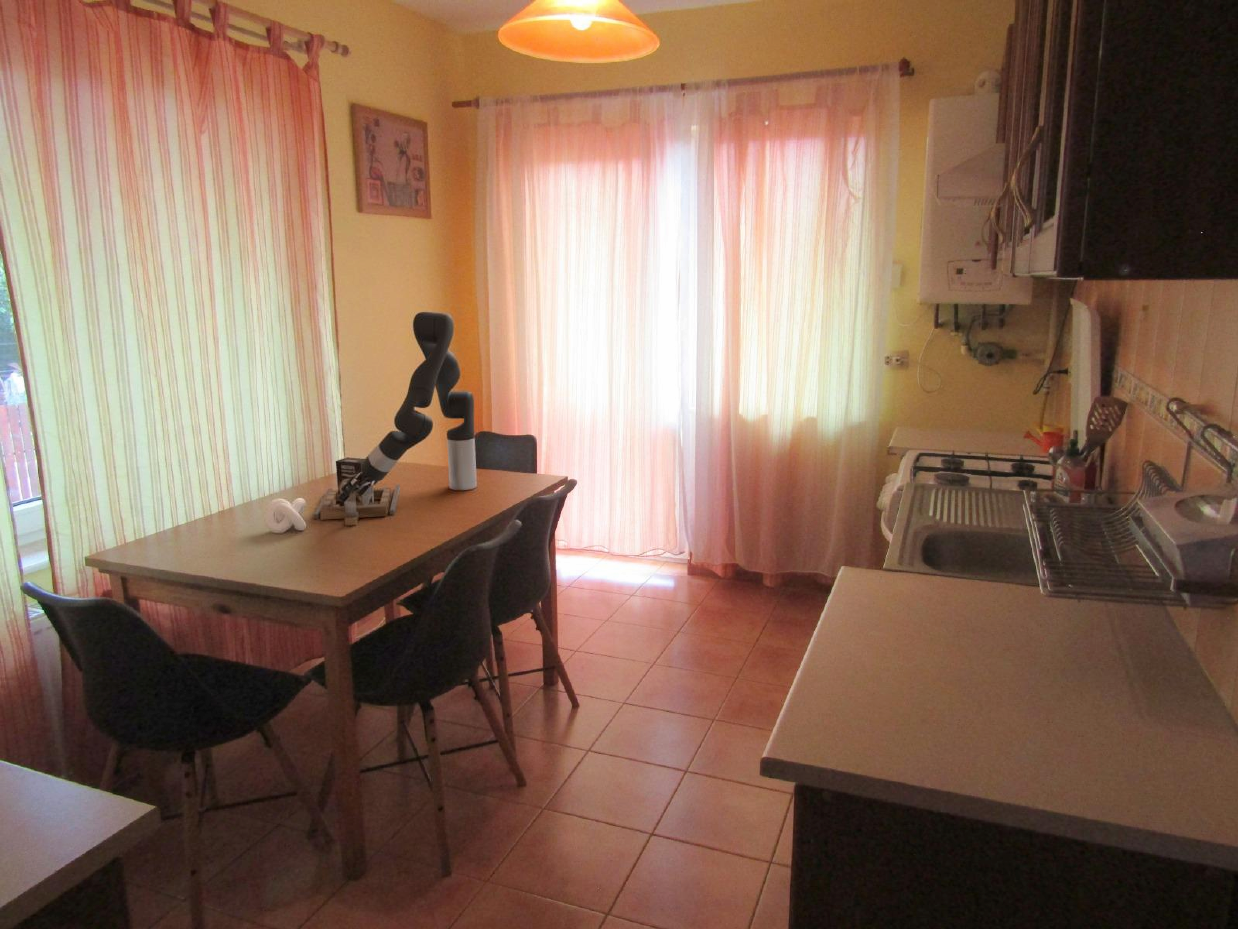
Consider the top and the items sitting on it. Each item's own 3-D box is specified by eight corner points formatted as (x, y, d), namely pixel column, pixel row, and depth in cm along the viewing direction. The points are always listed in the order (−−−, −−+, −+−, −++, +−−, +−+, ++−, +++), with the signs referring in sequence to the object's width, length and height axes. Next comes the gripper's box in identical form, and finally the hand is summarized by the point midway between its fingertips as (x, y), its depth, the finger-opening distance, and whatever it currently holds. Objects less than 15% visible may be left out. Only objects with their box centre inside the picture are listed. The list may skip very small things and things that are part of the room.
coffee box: (338, 511, 268) (334, 461, 264) (350, 506, 274) (346, 456, 270) (364, 513, 265) (360, 462, 262) (375, 508, 271) (372, 458, 268)
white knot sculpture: (262, 538, 242) (259, 507, 240) (267, 526, 253) (264, 496, 251) (305, 534, 245) (302, 504, 243) (308, 523, 256) (305, 493, 254)
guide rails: (328, 493, 290) (328, 488, 290) (399, 489, 295) (399, 485, 294) (314, 519, 260) (313, 514, 259) (394, 514, 264) (393, 509, 264)
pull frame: (331, 499, 281) (328, 463, 279) (391, 496, 285) (388, 460, 282) (316, 527, 251) (313, 487, 248) (384, 523, 254) (381, 483, 251)
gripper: (386, 446, 254) (356, 482, 260) (357, 456, 240) (326, 493, 247) (403, 465, 253) (372, 500, 259) (374, 476, 240) (343, 512, 246)
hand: (349, 496), depth 253 cm, fingers open, 8 cm apart
